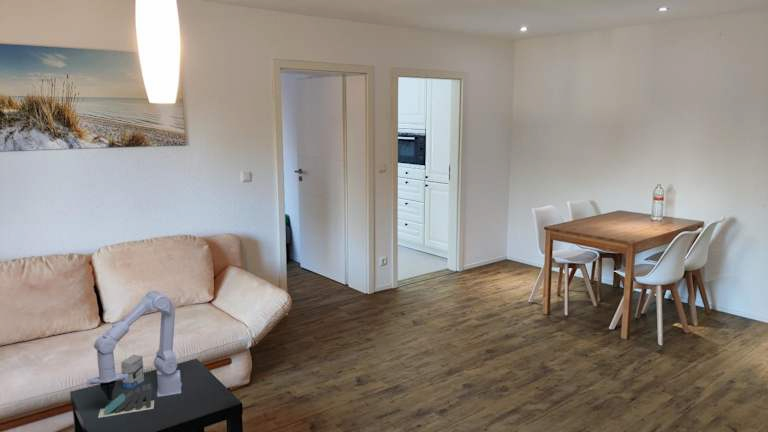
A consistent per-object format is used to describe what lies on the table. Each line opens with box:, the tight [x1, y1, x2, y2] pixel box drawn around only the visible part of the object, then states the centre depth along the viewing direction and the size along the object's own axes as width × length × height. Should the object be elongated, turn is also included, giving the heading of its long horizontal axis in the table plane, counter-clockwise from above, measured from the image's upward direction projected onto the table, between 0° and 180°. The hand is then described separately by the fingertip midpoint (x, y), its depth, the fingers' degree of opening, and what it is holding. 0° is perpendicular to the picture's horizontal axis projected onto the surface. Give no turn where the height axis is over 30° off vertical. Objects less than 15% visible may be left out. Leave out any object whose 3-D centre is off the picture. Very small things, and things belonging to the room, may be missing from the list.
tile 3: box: [125, 386, 142, 411], centre depth 224 cm, size 2×5×8 cm
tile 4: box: [135, 384, 147, 409], centre depth 225 cm, size 2×5×8 cm, turn 21°
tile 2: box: [115, 389, 135, 413], centre depth 223 cm, size 2×5×8 cm
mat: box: [97, 400, 155, 419], centre depth 224 cm, size 20×7×1 cm, turn 110°
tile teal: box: [104, 392, 126, 415], centre depth 222 cm, size 2×5×8 cm
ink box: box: [120, 354, 145, 390], centre depth 245 cm, size 8×5×12 cm, turn 168°
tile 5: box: [145, 383, 152, 408], centre depth 226 cm, size 2×5×8 cm, turn 20°
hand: (109, 399), depth 221 cm, fingers closed
